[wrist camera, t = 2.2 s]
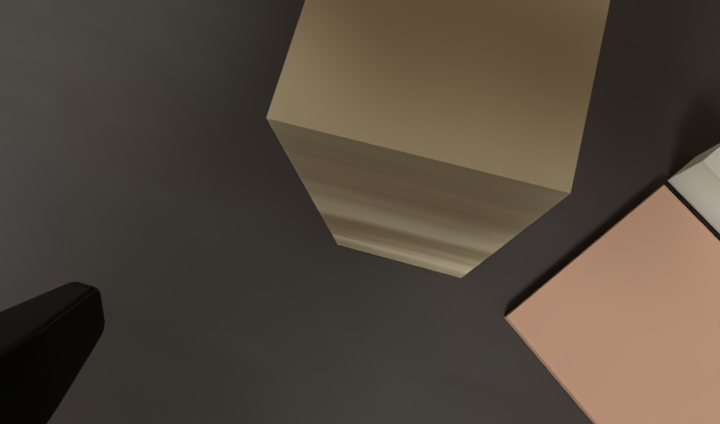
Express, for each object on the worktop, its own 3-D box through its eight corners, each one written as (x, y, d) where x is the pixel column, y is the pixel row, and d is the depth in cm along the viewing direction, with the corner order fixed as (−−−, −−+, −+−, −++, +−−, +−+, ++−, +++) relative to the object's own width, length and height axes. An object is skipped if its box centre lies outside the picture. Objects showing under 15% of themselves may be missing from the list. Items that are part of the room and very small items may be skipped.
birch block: (461, 277, 21) (570, 193, 8) (337, 244, 22) (266, 117, 9) (490, 158, 22) (626, -78, 9) (371, 129, 23) (349, -131, 10)
